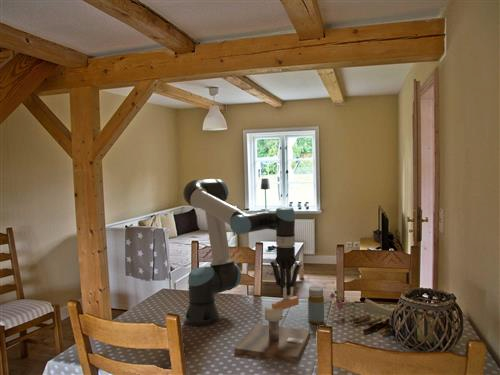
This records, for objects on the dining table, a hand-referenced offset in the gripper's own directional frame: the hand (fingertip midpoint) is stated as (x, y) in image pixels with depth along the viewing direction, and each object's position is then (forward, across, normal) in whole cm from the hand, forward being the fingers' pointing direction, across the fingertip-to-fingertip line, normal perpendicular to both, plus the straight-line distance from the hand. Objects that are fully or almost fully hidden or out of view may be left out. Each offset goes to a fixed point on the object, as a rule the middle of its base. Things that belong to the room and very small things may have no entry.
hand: (285, 302), depth 166 cm
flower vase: (+14, +28, +31) cm, 44 cm away
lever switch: (+4, 0, -5) cm, 6 cm away
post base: (+14, -2, -9) cm, 17 cm away
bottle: (+14, +7, +19) cm, 25 cm away
